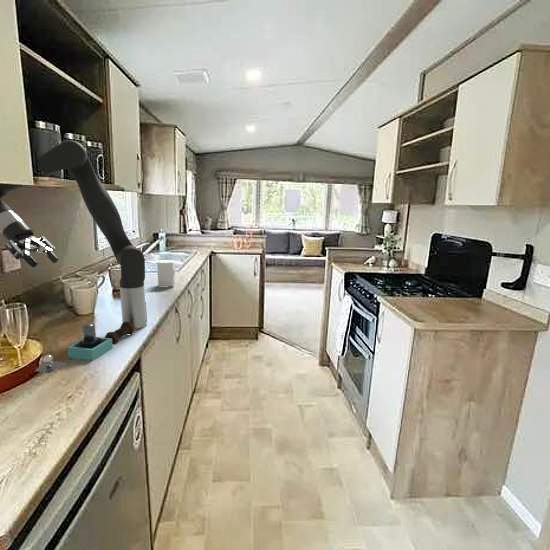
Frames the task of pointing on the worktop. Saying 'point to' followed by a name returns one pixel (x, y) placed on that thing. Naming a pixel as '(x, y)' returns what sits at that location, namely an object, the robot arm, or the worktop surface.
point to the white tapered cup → (166, 273)
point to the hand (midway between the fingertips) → (46, 263)
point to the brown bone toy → (121, 332)
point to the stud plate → (49, 365)
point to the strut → (89, 337)
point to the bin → (90, 350)
